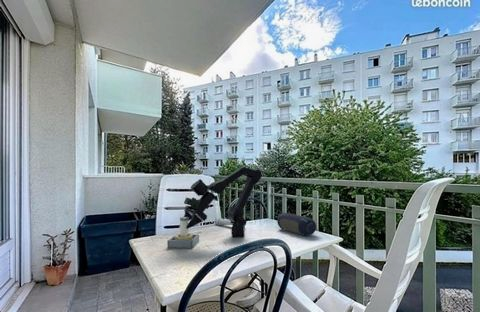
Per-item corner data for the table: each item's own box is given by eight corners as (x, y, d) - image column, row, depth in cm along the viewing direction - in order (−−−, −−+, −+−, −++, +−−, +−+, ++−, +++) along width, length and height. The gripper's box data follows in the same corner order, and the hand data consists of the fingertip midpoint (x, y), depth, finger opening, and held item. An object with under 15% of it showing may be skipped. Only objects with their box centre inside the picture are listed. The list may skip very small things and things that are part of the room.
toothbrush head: (219, 218, 175) (246, 217, 158) (220, 228, 174) (247, 228, 157) (213, 219, 171) (240, 218, 154) (214, 229, 170) (241, 230, 153)
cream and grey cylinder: (190, 243, 127) (190, 217, 128) (184, 245, 124) (184, 218, 125) (183, 241, 130) (184, 216, 130) (177, 243, 126) (178, 218, 127)
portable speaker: (274, 229, 156) (274, 212, 156) (286, 227, 161) (286, 211, 162) (305, 238, 135) (304, 219, 135) (318, 235, 140) (318, 217, 141)
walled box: (199, 241, 132) (199, 232, 132) (192, 248, 120) (192, 238, 120) (176, 241, 133) (176, 232, 134) (167, 248, 121) (167, 238, 122)
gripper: (187, 190, 139) (167, 213, 133) (200, 192, 123) (177, 219, 117) (201, 203, 142) (182, 226, 136) (215, 208, 126) (194, 234, 120)
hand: (183, 226), depth 127 cm, fingers open, 9 cm apart
